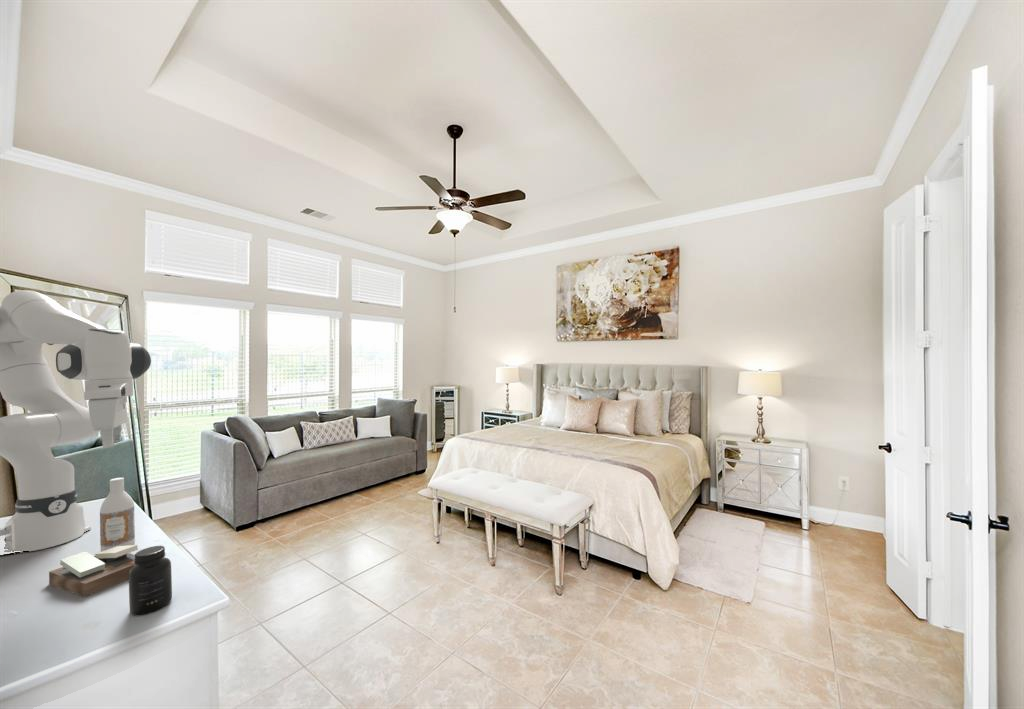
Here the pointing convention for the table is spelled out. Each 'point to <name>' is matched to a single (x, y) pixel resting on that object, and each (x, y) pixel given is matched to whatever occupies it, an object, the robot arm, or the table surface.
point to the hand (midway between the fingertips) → (112, 444)
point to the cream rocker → (116, 551)
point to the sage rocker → (82, 564)
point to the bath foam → (117, 517)
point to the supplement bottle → (150, 581)
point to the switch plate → (94, 576)
